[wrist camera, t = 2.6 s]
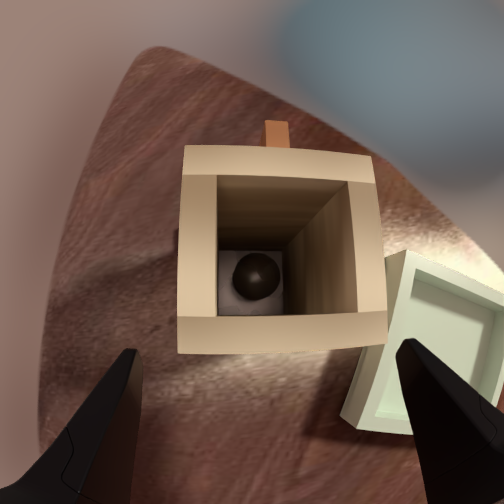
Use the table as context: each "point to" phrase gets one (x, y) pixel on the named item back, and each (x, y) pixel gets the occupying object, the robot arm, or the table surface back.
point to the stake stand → (250, 283)
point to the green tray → (428, 339)
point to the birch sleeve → (281, 246)
